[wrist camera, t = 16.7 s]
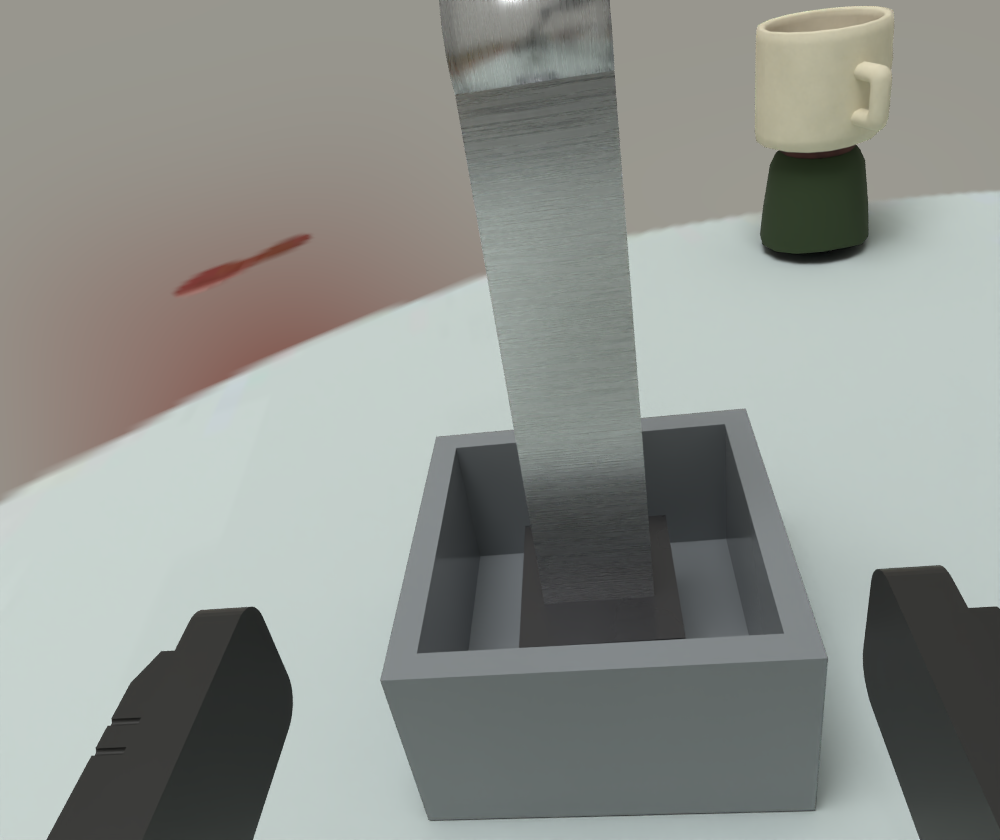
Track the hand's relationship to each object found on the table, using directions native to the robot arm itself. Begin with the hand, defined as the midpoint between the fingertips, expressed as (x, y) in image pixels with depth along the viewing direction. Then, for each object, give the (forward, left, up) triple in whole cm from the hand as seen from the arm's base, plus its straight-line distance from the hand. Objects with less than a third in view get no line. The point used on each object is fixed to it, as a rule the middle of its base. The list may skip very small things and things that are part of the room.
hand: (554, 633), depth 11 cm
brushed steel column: (-10, -4, -12) cm, 17 cm away
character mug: (-45, -3, -14) cm, 47 cm away
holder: (-10, -4, -13) cm, 17 cm away
